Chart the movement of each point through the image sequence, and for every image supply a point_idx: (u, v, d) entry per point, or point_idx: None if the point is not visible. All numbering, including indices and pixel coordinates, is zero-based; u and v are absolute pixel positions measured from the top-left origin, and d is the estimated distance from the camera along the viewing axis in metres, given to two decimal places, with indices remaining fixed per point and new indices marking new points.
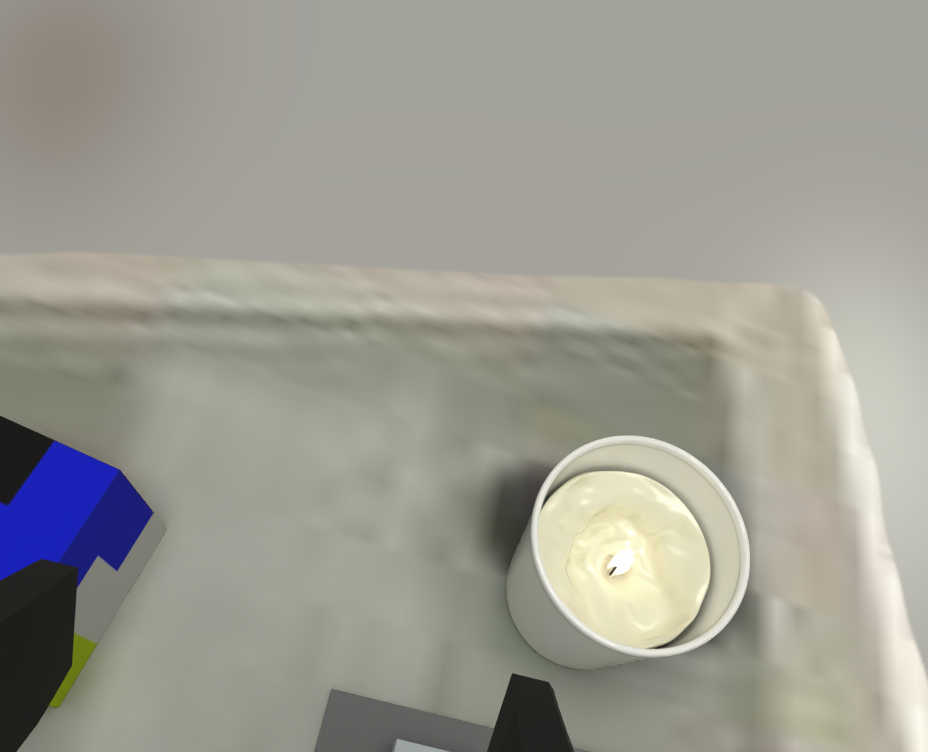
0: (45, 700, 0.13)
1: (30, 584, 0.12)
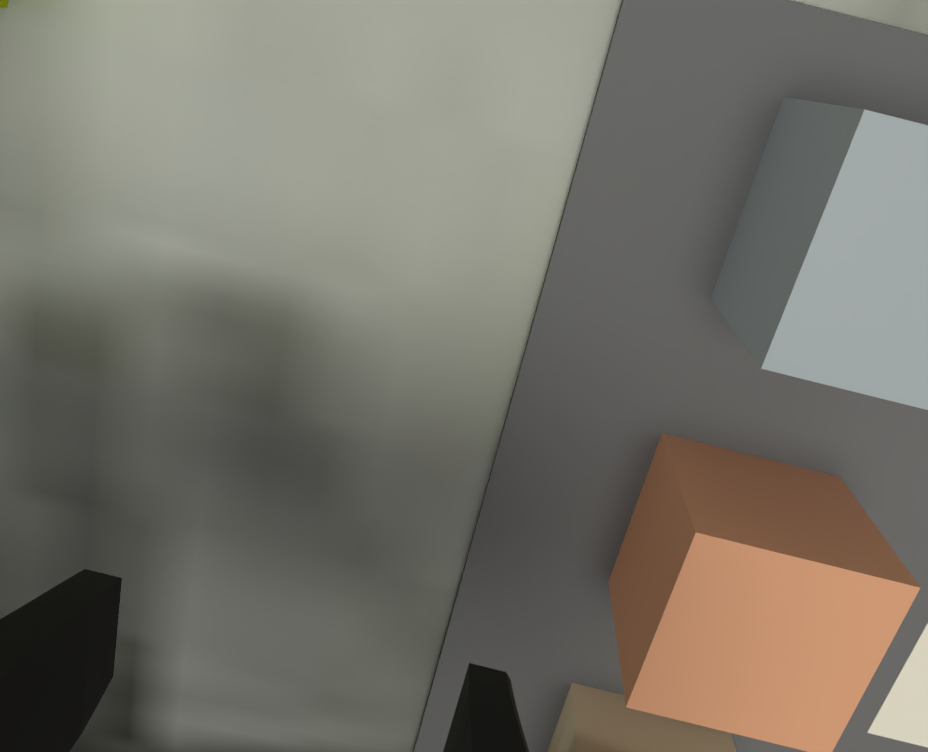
0: (88, 710, 0.13)
1: (77, 595, 0.12)
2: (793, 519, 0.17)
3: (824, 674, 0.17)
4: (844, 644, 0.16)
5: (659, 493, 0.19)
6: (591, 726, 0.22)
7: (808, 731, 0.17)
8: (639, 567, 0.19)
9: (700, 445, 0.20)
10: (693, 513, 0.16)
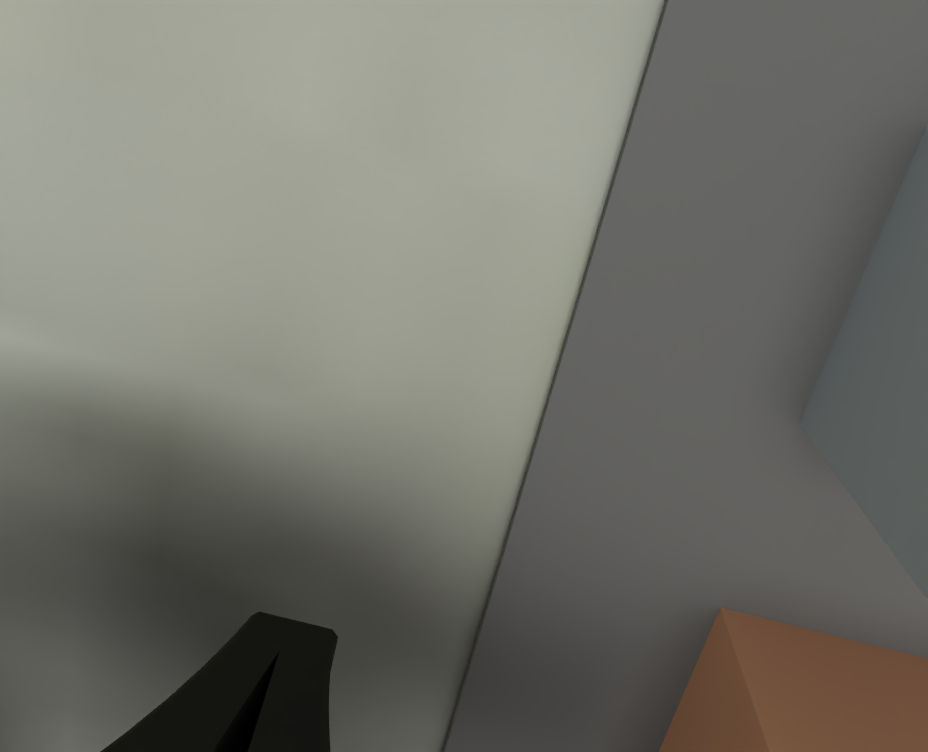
0: None
1: (264, 641, 0.12)
2: None
3: None
4: None
5: (721, 712, 0.13)
6: None
7: None
8: None
9: (777, 628, 0.14)
10: None
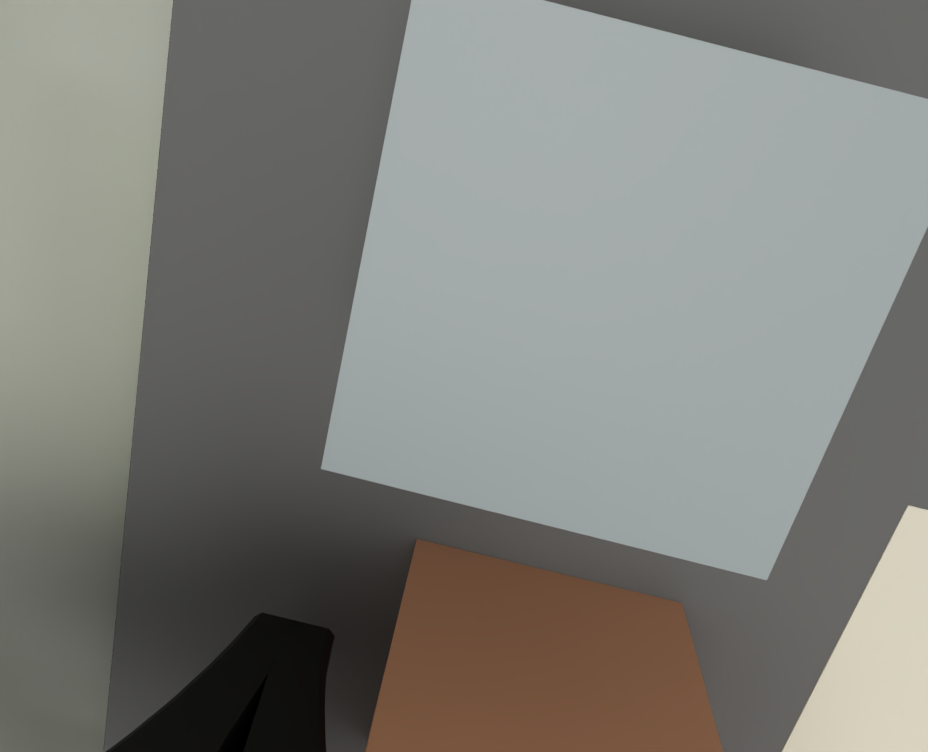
0: None
1: (267, 642, 0.12)
2: (566, 704, 0.11)
3: None
4: None
5: None
6: None
7: None
8: None
9: (470, 559, 0.13)
10: (383, 708, 0.10)
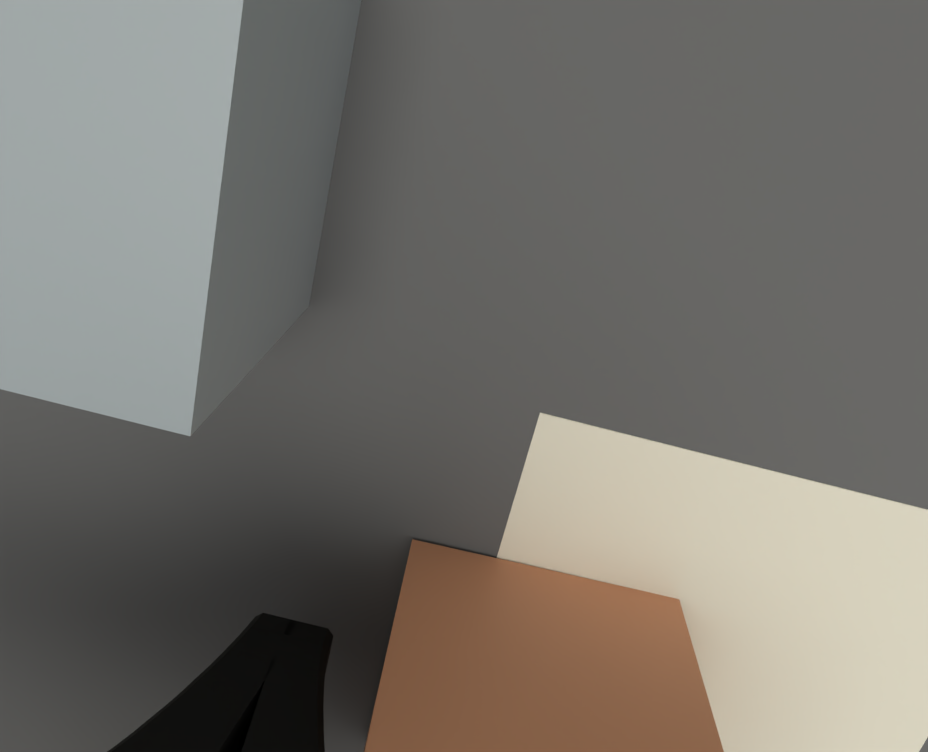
0: None
1: (268, 642, 0.12)
2: (565, 702, 0.11)
3: None
4: None
5: None
6: None
7: None
8: None
9: (467, 558, 0.13)
10: (382, 710, 0.10)
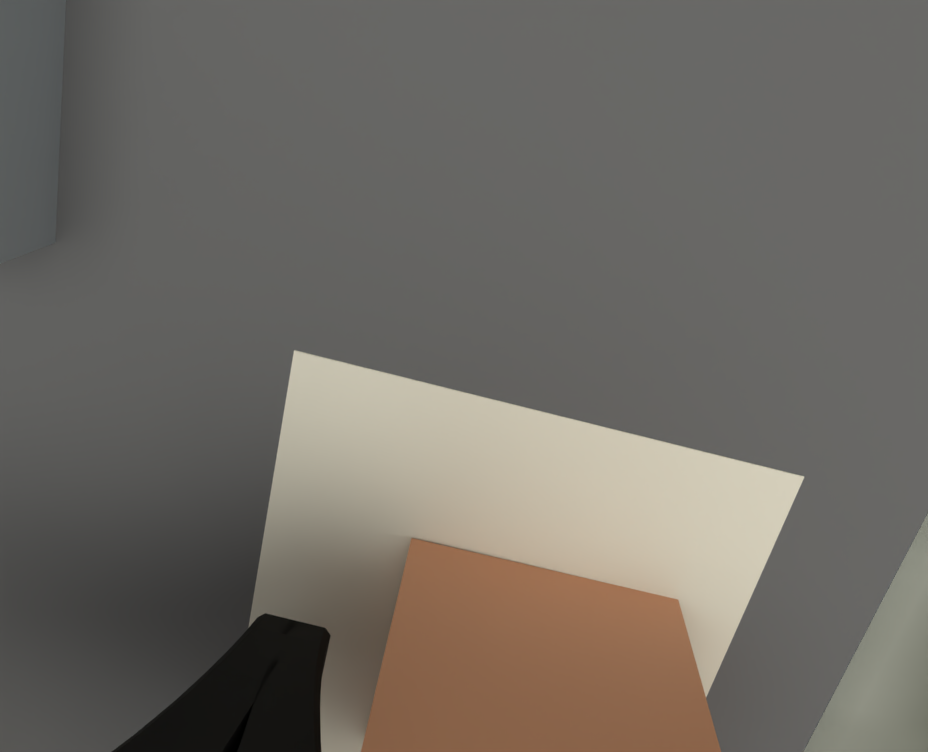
0: None
1: (271, 643, 0.12)
2: (563, 702, 0.11)
3: None
4: None
5: None
6: None
7: None
8: None
9: (465, 558, 0.13)
10: (378, 709, 0.10)
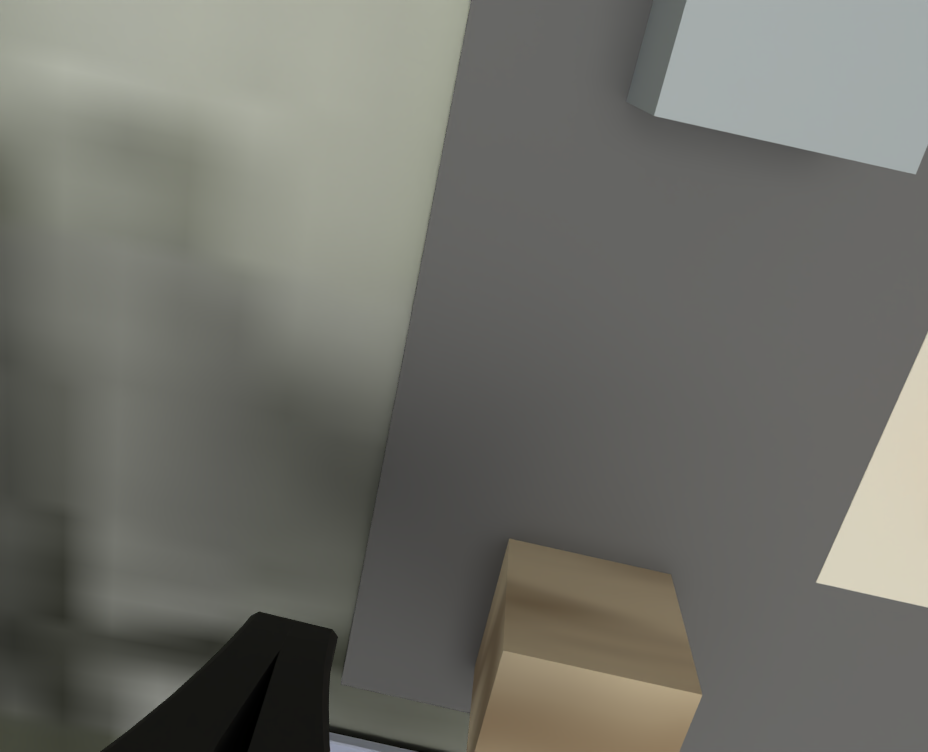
0: None
1: (264, 641, 0.12)
2: None
3: None
4: None
5: None
6: (525, 574, 0.21)
7: None
8: None
9: None
10: None
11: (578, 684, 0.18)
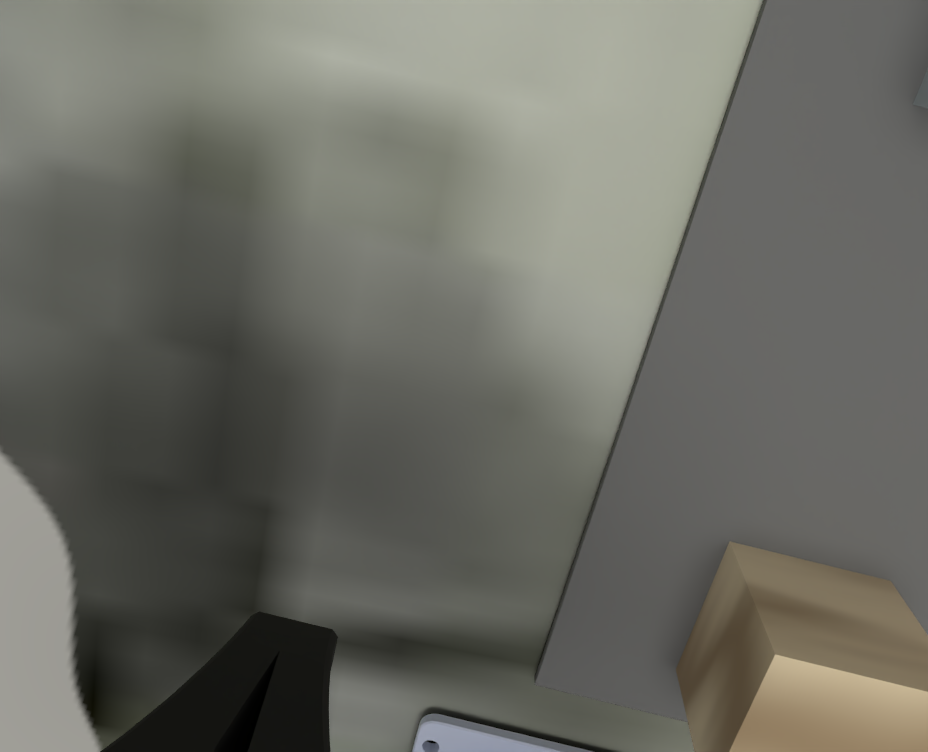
0: None
1: (264, 641, 0.12)
2: None
3: None
4: None
5: None
6: (760, 577, 0.21)
7: None
8: None
9: None
10: None
11: (847, 690, 0.18)
